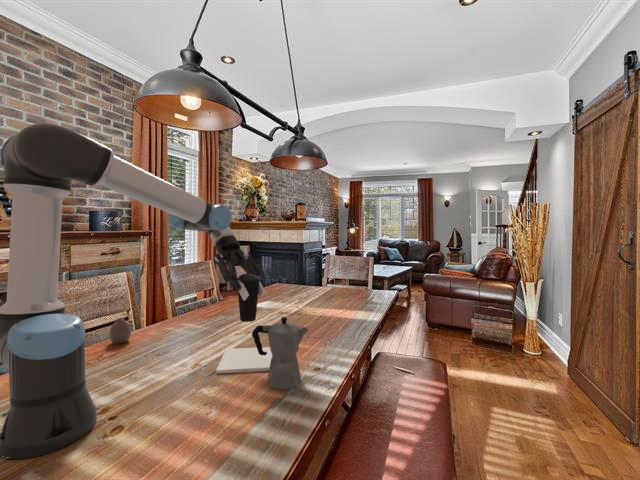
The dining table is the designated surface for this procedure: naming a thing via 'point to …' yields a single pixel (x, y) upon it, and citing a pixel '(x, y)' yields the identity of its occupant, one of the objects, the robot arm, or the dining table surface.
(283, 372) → the coffeepot
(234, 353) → the tile
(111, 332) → the grey rounded lump
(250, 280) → the drinking cup
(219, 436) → the dining table surface
